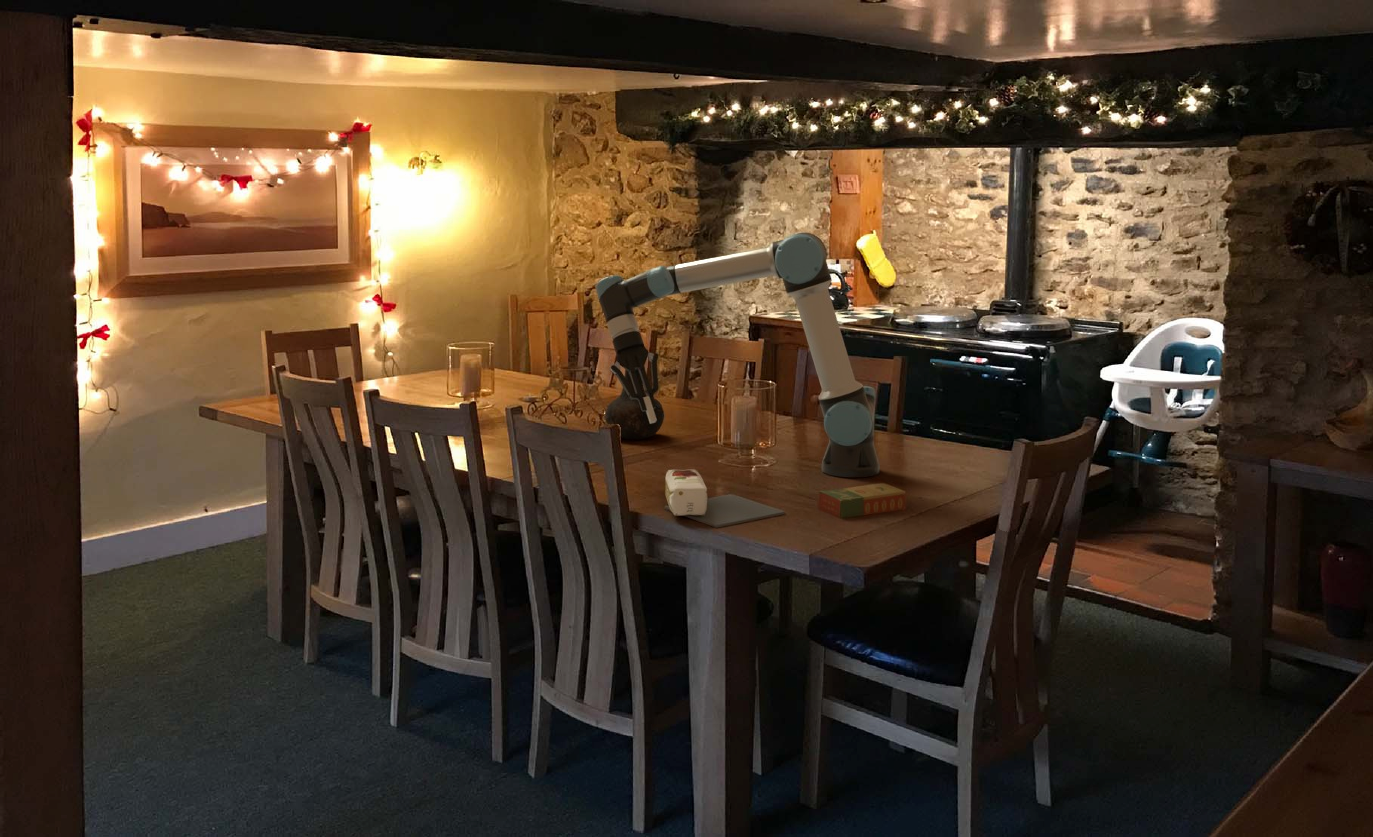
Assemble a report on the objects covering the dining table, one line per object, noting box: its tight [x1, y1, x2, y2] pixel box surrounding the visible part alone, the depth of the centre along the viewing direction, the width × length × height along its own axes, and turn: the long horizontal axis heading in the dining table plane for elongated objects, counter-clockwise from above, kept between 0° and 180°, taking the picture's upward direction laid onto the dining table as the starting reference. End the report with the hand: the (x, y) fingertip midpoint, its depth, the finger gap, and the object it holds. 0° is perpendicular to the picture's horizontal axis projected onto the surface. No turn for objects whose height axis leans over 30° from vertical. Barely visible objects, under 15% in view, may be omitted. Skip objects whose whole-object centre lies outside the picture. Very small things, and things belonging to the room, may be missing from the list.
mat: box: [663, 493, 786, 529], centre depth 278 cm, size 20×20×1 cm
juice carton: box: [664, 469, 708, 517], centre depth 278 cm, size 8×9×19 cm
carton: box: [817, 482, 907, 519], centre depth 281 cm, size 10×18×5 cm, turn 116°
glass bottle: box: [604, 369, 665, 440], centre depth 360 cm, size 18×18×28 cm
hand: (653, 421), depth 303 cm, fingers closed
